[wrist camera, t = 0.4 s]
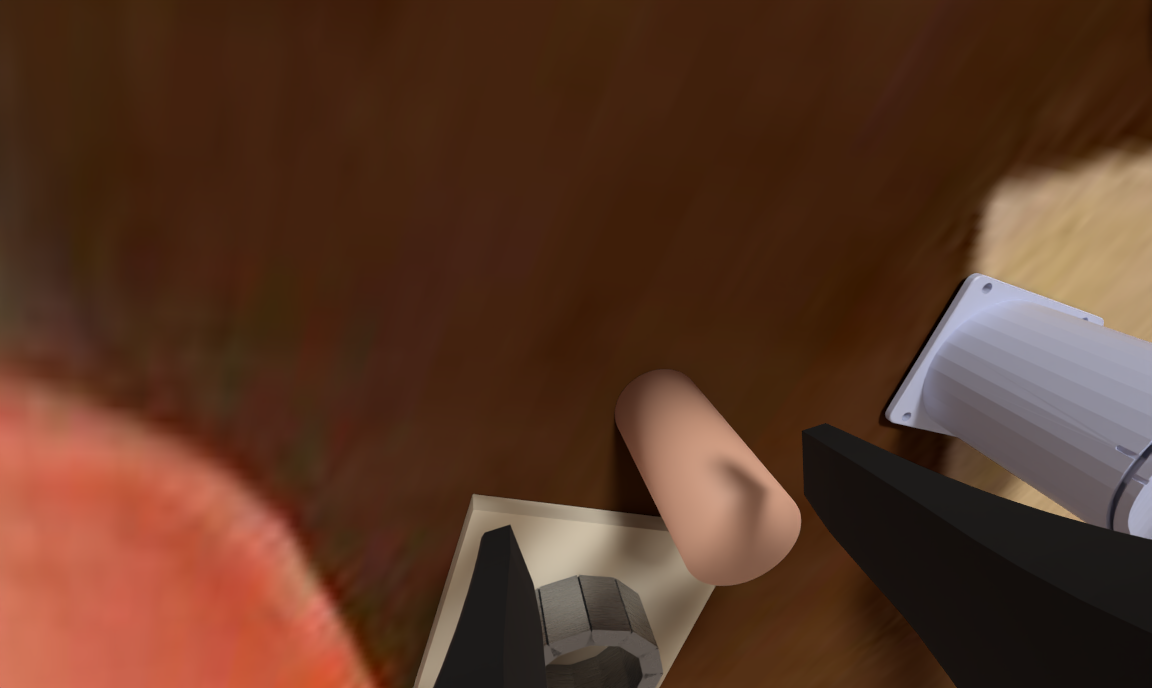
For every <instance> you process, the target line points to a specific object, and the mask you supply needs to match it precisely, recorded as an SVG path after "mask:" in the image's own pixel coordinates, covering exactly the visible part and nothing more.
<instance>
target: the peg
mask: <svg viewBox="0 0 1152 688" xmlns="http://www.w3.org/2000/svg"><path fill="white" fill-rule="evenodd" d="M615 421H616V425H617V427H618V429H619V431H620V433H621V435H622V437H623V439H624V441H625V443H626V445H627V447H628V449H629V451H630V453H631V455H632V458H633V460H634V462H635V464H636V466H637V468H638V470H639V472H640V474H641V476H642V478H643V480H644V482H645V484H646V486H647V488H648V490H649V492H650V494H651V496H652V498H653V500H654V502H655V504H656V506H657V508H658V510H659V512H660V514H661V517H662V519H663V521H664V523H665V525H666V527H667V529H668V531H669V533H670V535H671V537H672V539H673V541H674V543H675V545H676V547H677V549H678V551H679V553H680V555H681V557H682V559H683V561H684V563H685V565H686V567H687V569H688V571H689V572H690V574H691V575H693V576H694V577H695V578H696V579H698V580H699V581H701V582H704V583H707V584H710V585H716V586H728V585H735V584H740V583H744V582H747V581H750V580H752V579H755V578H757V577H759V576H761V575H762V574H764V573H766V572H768V571H769V570H770V569H772V568H773V567H774V566H776V565H777V564H778V563H779V562H780V561H781V560H782V559H783V558H784V557H785V556H786V555H787V554H788V553H789V551H790V550H791V548H792V547H793V545H794V544H795V542H796V540H797V537H798V535H799V532H800V527H801V515H800V511H799V509H798V507H797V505H796V503H795V502H794V501H793V500H792V498H791V497H790V496H789V495H788V494H787V493H786V491H785V490H784V489H783V488H782V487H781V485H780V484H779V483H778V482H777V481H776V480H775V478H774V477H773V476H772V475H771V474H770V472H769V471H768V470H767V469H766V468H765V467H764V465H763V464H762V463H761V462H760V461H759V459H758V458H757V457H756V456H755V455H754V454H753V452H752V451H751V450H750V449H749V448H748V446H747V445H746V444H745V443H744V442H743V441H742V439H741V438H740V437H739V436H738V435H737V433H736V432H735V431H734V430H733V429H732V428H731V426H730V425H729V424H728V423H727V422H726V420H725V419H724V418H723V417H722V416H721V415H720V413H719V412H718V411H717V410H716V409H715V407H714V406H713V405H712V404H711V403H710V402H709V400H708V399H707V398H706V397H705V396H704V394H703V393H702V392H701V391H700V390H699V389H698V387H697V386H696V385H695V384H694V383H693V381H692V380H691V379H690V378H689V377H688V376H686V375H685V374H683V373H681V372H679V371H676V370H671V369H658V370H653V371H650V372H647V373H644V374H642V375H640V376H639V377H637V378H635V379H634V380H633V381H632V382H630V383H629V384H628V385H627V386H626V387H625V389H624V390H623V391H622V393H621V394H620V396H619V398H618V400H617V403H616V407H615Z"/></svg>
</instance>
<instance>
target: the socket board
mask: <svg viewBox="0 0 1152 688" xmlns="http://www.w3.org/2000/svg"><path fill="white" fill-rule="evenodd" d="M507 525H511V527H512V530H513V532H514V535H515V538H516V540H517V543H518V545H519V548H520V550H521V553H522V555H523V558H524V561H525V563H526V566H527V568H528V571H529V573H530V576H531V578H532V581H533V584H534V588H535V594H536V599H537V604H538V609H539V615H540V620H541V626H542V634H543V645H544V657H545V669H546V681H547V688H659V687H660V685H661V683H662V682H663V680H664V678H665V676H666V674H667V673H668V671H669V669H670V667H671V665H672V664H673V662H674V660H675V658H676V656H677V654H678V653H679V651H680V649H681V647H682V645H683V644H684V642H685V640H686V638H687V636H688V635H689V633H690V631H691V629H692V627H693V625H694V624H695V622H696V620H697V618H698V616H699V615H700V613H701V611H702V609H703V607H704V606H705V604H706V602H707V600H708V598H709V596H710V595H711V593H712V591H713V589H714V587H715V586H716V585H710V584H707V583H704V582H701V581H699V580H698V579H696V578H695V577H694V576H693V575H691V574H690V572H689V571H688V569H687V567H686V565H685V563H684V561H683V559H682V557H681V555H680V553H679V551H678V549H677V547H676V545H675V543H674V541H673V539H672V537H671V535H670V533H669V531H668V529H667V527H666V525H665V523H664V521H663V519H662V517H656V516H648V515H640V514H632V513H623V512H615V511H607V510H599V509H590V508H582V507H574V506H566V505H557V504H549V503H541V502H533V501H524V500H516V499H508V498H500V497H491V496H483V495H475V494H473V495H472V499H471V502H470V505H469V508H468V512H467V515H466V518H465V521H464V525H463V528H462V531H461V534H460V538H459V541H458V544H457V547H456V551H455V554H454V557H453V560H452V564H451V567H450V570H449V573H448V577H447V580H446V583H445V586H444V590H443V593H442V596H441V599H440V603H439V606H438V609H437V612H436V616H435V619H434V622H433V625H432V629H431V632H430V635H429V638H428V642H427V645H426V648H425V651H424V655H423V658H422V661H421V664H420V668H419V671H418V674H417V677H416V681H415V684H414V687H413V688H433V686H434V684H435V681H436V679H437V677H438V674H439V672H440V669H441V667H442V664H443V662H444V659H445V656H446V654H447V651H448V648H449V646H450V643H451V640H452V638H453V635H454V632H455V629H456V627H457V624H458V621H459V618H460V614H461V611H462V608H463V605H464V602H465V599H466V595H467V592H468V589H469V585H470V582H471V578H472V575H473V571H474V567H475V563H476V559H477V555H478V551H479V546H480V541H481V537H482V536H483V534H484V533H485V532H488V531H491V530H494V529H497V528H500V527H504V526H507Z"/></svg>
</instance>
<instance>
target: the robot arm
mask: <svg viewBox="0 0 1152 688" xmlns="http://www.w3.org/2000/svg"><path fill="white" fill-rule="evenodd" d="M1103 324H1104V321H1103V319H1102V318H1101V317H1099V316H1096V315H1093V314H1090V313H1088V312H1085V311H1082V310H1079V309H1077V308H1074V307H1071V306H1068V305H1065V304H1063V303H1060V302H1057V301H1054V300H1052V299H1049V298H1046V297H1043V296H1041V295H1038V294H1035V293H1032V292H1030V291H1027V290H1024V289H1021V288H1019V287H1016V286H1013V285H1010V284H1008V283H1005V282H1002V281H999V280H997V279H994V278H991V277H988V276H986V275H982V274H979V273H975V274H972V275H970V276H969V277H968V278H967V279H966V280H965V282H964V283H963V285H962V287H961V288H960V290H959V292H958V293H957V295H956V297H955V298H954V300H953V302H952V303H951V305H950V306H949V308H948V310H947V311H946V313H945V315H944V316H943V318H942V320H941V321H940V323H939V324H938V326H937V328H936V329H935V331H934V333H933V334H932V336H931V338H930V339H929V341H928V343H927V344H926V346H925V347H924V349H923V351H922V352H921V354H920V356H919V357H918V359H917V361H916V362H915V364H914V366H913V367H912V369H911V370H910V372H909V374H908V375H907V377H906V379H905V380H904V382H903V384H902V385H901V387H900V388H899V390H898V392H897V393H896V395H895V397H894V398H893V400H892V402H891V403H890V405H889V407H888V408H887V410H886V412H885V417H886V418H887V419H888V420H889V421H891V422H892V423H896V424H900V425H905V426H910V427H914V428H919V429H923V430H928V431H932V432H937V433H942V434H946V435H951V436H955V437H958V438H959V439H961V440H962V441H964V442H966V443H967V444H969V445H970V446H972V447H973V448H975V449H976V450H978V451H979V452H981V453H982V454H984V455H985V456H987V457H988V458H990V459H991V460H993V461H994V462H996V463H997V464H999V465H1000V466H1002V467H1003V468H1005V469H1006V470H1008V471H1009V472H1011V473H1012V474H1014V475H1015V476H1017V477H1018V478H1020V479H1021V480H1023V481H1024V482H1026V483H1027V484H1029V485H1030V486H1032V487H1033V488H1035V489H1036V490H1038V491H1039V492H1041V493H1042V494H1044V495H1045V496H1047V497H1048V498H1050V499H1051V500H1053V501H1054V502H1056V503H1057V504H1059V505H1060V506H1062V507H1063V508H1065V509H1066V510H1068V511H1069V512H1071V513H1072V514H1074V515H1075V516H1077V517H1078V518H1080V519H1081V520H1083V521H1084V522H1086V523H1084V522H1080V521H1076V520H1073V519H1069V518H1065V517H1062V516H1059V515H1055V514H1052V513H1048V512H1045V511H1042V510H1039V509H1036V508H1033V507H1029V506H1026V505H1023V504H1020V503H1017V502H1014V501H1011V500H1008V499H1005V498H1002V497H999V496H996V495H993V494H991V493H988V492H985V491H982V490H980V489H977V488H974V487H972V486H969V485H967V484H964V483H961V482H959V481H956V480H954V479H951V478H949V477H946V476H944V475H941V474H939V473H936V472H934V471H931V470H929V469H927V468H924V467H922V466H920V465H917V464H915V463H913V462H910V461H908V460H906V459H904V458H901V457H899V456H897V455H895V454H892V453H890V452H888V451H886V450H884V449H881V448H879V447H877V446H875V445H873V444H871V443H868V442H866V441H864V440H862V439H860V438H858V437H855V436H853V435H851V434H849V433H847V432H844V431H842V430H840V429H838V428H836V427H833V426H831V425H829V424H826V423H825V424H822V425H819V426H816V427H812V428H809V429H806V430H803V431H802V445H803V474H804V495H805V496H806V498H807V499H808V501H809V502H810V504H811V506H812V507H813V509H814V510H815V512H816V513H817V515H818V516H819V517H820V519H821V520H822V522H823V523H824V525H825V526H826V527H827V529H828V530H829V532H830V533H831V534H832V535H833V536H834V538H835V539H836V540H837V541H838V542H839V543H840V545H841V546H842V547H843V548H844V549H845V550H846V551H847V553H848V554H849V555H850V556H851V557H852V558H853V559H854V561H855V562H856V563H857V564H858V565H859V566H860V567H861V569H862V570H863V571H864V572H865V573H866V574H867V575H868V577H869V578H870V579H871V580H872V581H873V582H874V583H875V584H876V586H877V587H878V588H879V589H880V590H881V591H882V592H883V594H884V595H885V596H886V597H887V598H888V599H889V600H890V601H891V603H892V604H893V605H894V606H895V607H896V608H897V609H898V611H899V612H900V613H901V614H902V615H903V616H904V618H905V619H906V620H907V621H908V623H909V624H910V625H911V626H912V627H913V629H914V630H915V631H916V632H917V634H918V635H919V636H920V638H921V639H922V640H923V642H924V643H925V644H926V646H927V647H928V648H929V650H930V651H931V653H932V654H933V655H934V657H935V658H936V659H937V661H938V662H939V663H940V665H941V666H942V668H943V669H944V670H945V672H946V673H947V674H948V676H949V677H950V678H951V680H952V681H953V683H954V684H955V686H956V687H957V688H1152V343H1151V342H1148V341H1145V340H1142V339H1139V338H1136V337H1133V336H1130V335H1127V334H1124V333H1121V332H1119V331H1116V330H1113V329H1110V328H1107V327H1104V326H1103ZM433 688H547V681H546V669H545V657H544V645H543V634H542V626H541V620H540V615H539V609H538V604H537V599H536V594H535V588H534V584H533V581H532V578H531V576H530V573H529V571H528V568H527V566H526V563H525V561H524V558H523V555H522V553H521V550H520V548H519V545H518V543H517V540H516V538H515V535H514V532H513V530H512V527H511V525H507V526H504V527H500V528H497V529H494V530H491V531H488V532H485V533H484V534H483V536H482V537H481V541H480V546H479V551H478V555H477V559H476V563H475V567H474V571H473V575H472V578H471V582H470V585H469V589H468V592H467V595H466V599H465V602H464V605H463V608H462V611H461V614H460V618H459V621H458V624H457V627H456V629H455V632H454V635H453V638H452V640H451V643H450V646H449V648H448V651H447V654H446V656H445V659H444V662H443V664H442V667H441V669H440V672H439V674H438V677H437V679H436V681H435V684H434V686H433Z"/></svg>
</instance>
